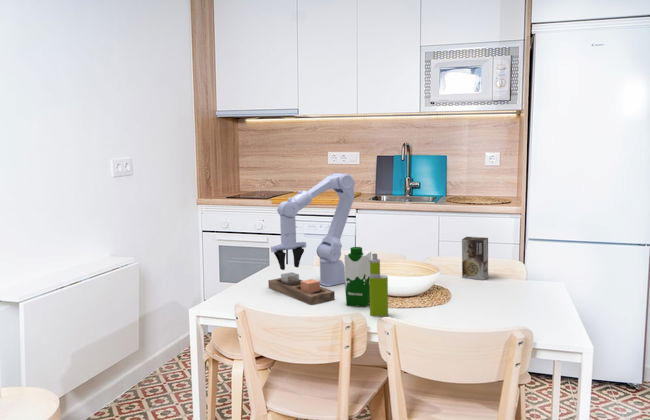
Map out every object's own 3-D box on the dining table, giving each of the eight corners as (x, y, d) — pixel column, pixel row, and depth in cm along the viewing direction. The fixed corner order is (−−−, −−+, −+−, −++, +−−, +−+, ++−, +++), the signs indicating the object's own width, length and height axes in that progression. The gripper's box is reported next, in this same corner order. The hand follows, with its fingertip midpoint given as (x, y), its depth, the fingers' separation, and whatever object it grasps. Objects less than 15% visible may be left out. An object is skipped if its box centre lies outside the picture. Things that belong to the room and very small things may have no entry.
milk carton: (343, 306, 193) (341, 248, 191) (350, 298, 202) (349, 243, 199) (368, 308, 190) (367, 249, 188) (374, 300, 199) (373, 244, 196)
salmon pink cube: (312, 288, 208) (311, 279, 207) (319, 290, 204) (319, 281, 203) (300, 290, 205) (300, 281, 205) (308, 293, 201) (308, 283, 201)
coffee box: (488, 277, 228) (489, 237, 226) (483, 280, 222) (484, 240, 220) (466, 274, 232) (466, 236, 230) (461, 278, 227) (461, 238, 225)
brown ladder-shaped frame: (290, 283, 226) (290, 276, 225) (334, 299, 201) (334, 291, 201) (268, 287, 220) (268, 280, 219) (311, 305, 195) (311, 296, 195)
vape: (370, 312, 185) (369, 252, 183) (388, 313, 184) (387, 252, 182) (369, 316, 182) (368, 255, 179) (387, 316, 181) (386, 255, 178)
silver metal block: (292, 280, 219) (291, 272, 219) (299, 283, 215) (298, 274, 215) (281, 282, 216) (280, 274, 216) (287, 285, 212) (287, 276, 212)
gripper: (298, 229, 221) (300, 263, 223) (266, 234, 213) (267, 269, 214) (308, 231, 215) (309, 266, 217) (275, 236, 207) (277, 272, 209)
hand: (289, 268), depth 215 cm, fingers open, 6 cm apart
